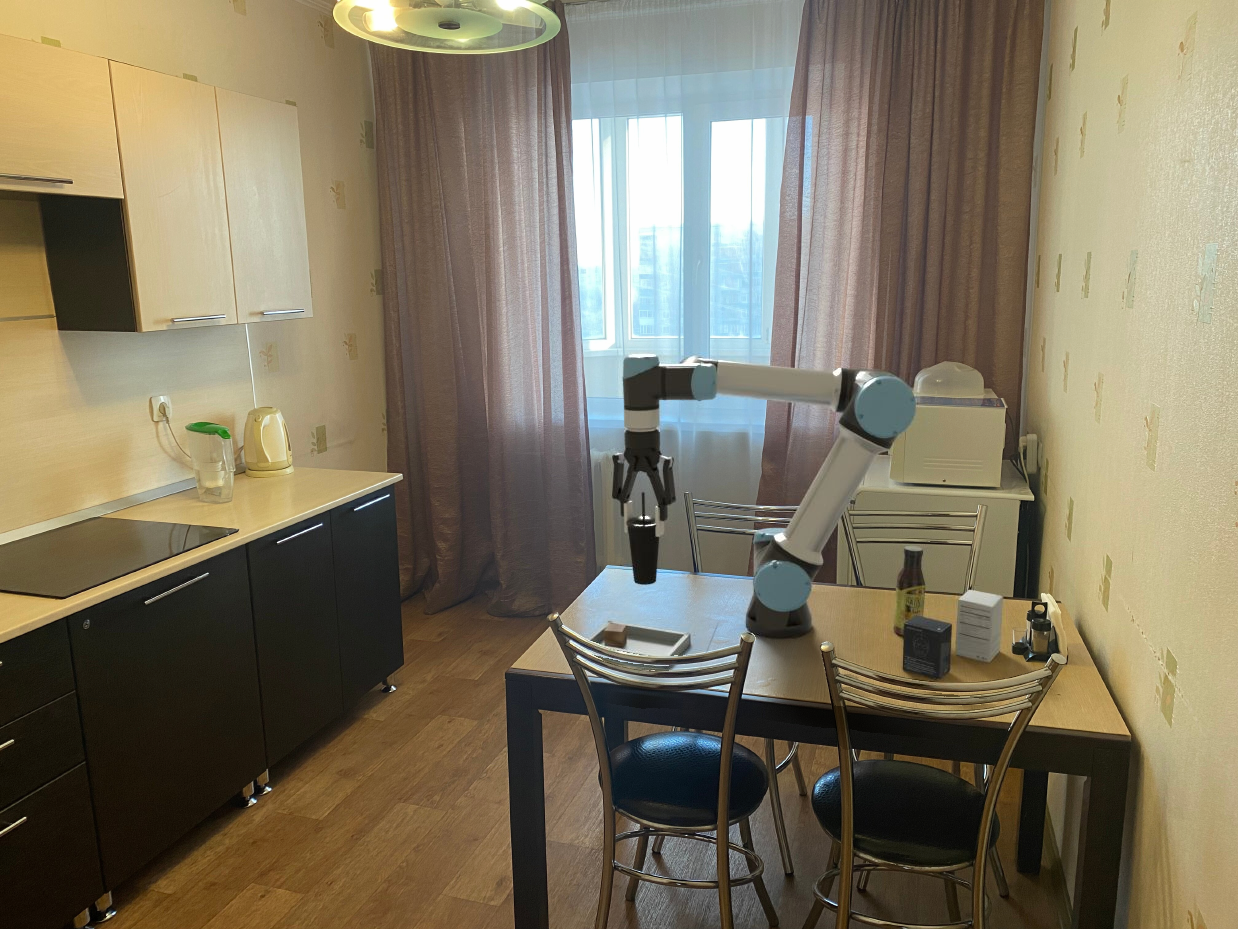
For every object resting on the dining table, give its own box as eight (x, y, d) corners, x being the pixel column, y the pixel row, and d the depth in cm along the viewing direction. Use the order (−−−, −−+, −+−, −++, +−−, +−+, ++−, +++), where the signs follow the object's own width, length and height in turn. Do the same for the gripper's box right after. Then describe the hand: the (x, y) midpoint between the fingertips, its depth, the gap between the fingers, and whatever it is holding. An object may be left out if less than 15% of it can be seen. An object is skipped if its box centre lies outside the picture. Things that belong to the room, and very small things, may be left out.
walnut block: (626, 641, 201) (626, 624, 200) (622, 649, 197) (621, 631, 196) (609, 640, 202) (609, 623, 201) (604, 647, 198) (604, 630, 197)
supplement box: (965, 643, 197) (969, 588, 194) (1000, 651, 193) (1004, 595, 190) (953, 654, 192) (957, 598, 189) (989, 663, 187) (993, 606, 184)
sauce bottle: (905, 639, 200) (909, 554, 195) (887, 629, 205) (890, 546, 201) (929, 634, 202) (933, 550, 198) (910, 625, 208) (914, 542, 203)
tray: (690, 645, 199) (690, 633, 199) (666, 671, 187) (666, 658, 186) (609, 632, 208) (608, 620, 207) (581, 656, 195) (580, 643, 195)
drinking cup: (658, 588, 193) (656, 497, 188) (624, 586, 194) (621, 496, 190) (665, 576, 200) (664, 488, 196) (632, 574, 202) (630, 487, 197)
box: (950, 671, 184) (953, 623, 181) (938, 681, 180) (941, 631, 177) (913, 661, 189) (916, 613, 187) (901, 670, 185) (903, 622, 183)
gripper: (692, 428, 189) (693, 533, 193) (609, 422, 198) (612, 523, 203) (677, 434, 182) (678, 543, 187) (592, 428, 191) (596, 532, 196)
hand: (644, 532), depth 195 cm, fingers closed on drinking cup, 7 cm apart
